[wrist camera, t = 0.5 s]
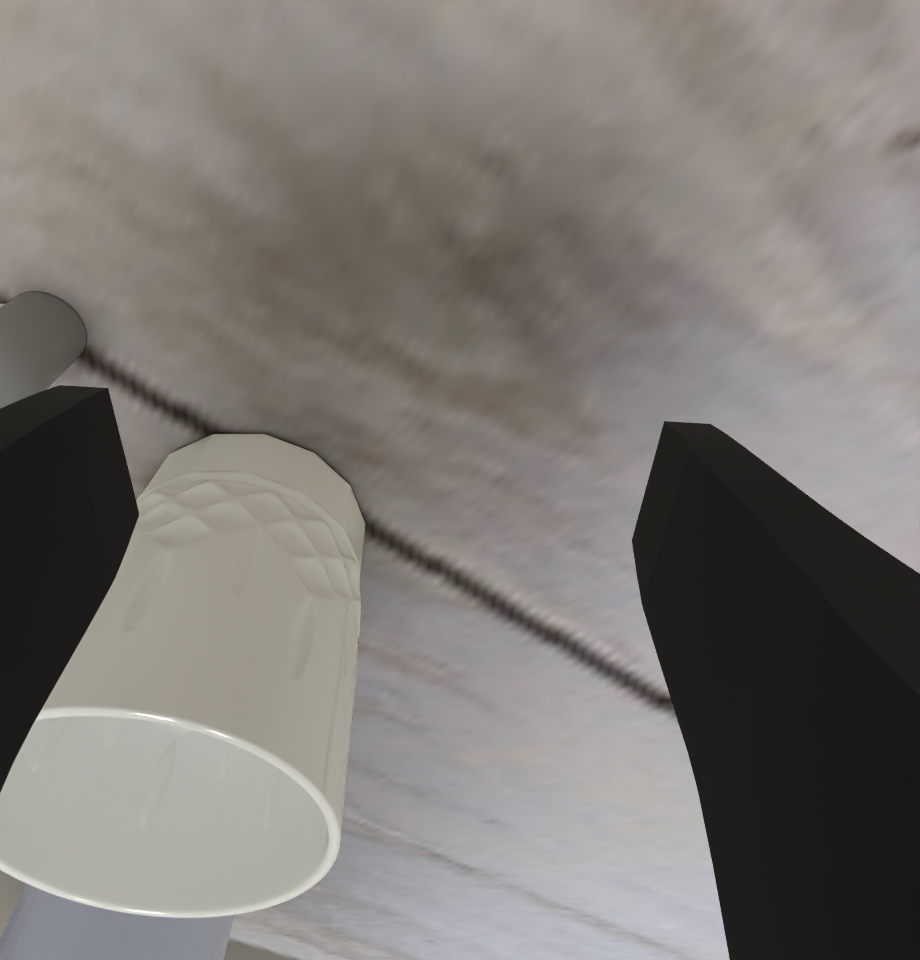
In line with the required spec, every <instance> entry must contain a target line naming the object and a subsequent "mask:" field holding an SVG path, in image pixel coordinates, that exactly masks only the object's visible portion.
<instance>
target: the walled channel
mask: <svg viewBox="0 0 920 960" xmlns="http://www.w3.org/2000/svg"><path fill="white" fill-rule="evenodd" d="M85 346H86V331H85V328H84V325H83V323H82V321H81V319H80V318H79V316H78V315H77V314H76V312H75V311H74V310H73V309H72V308H71V307H70V306H69V305H67V304H66V303H65V302H63V301H62V300H60V299H58V298H56V297H54V296H52V295H49V294H46V293H42V292H25V293H22V294H19V295H17V296H16V297H14V298H13V299H12V300H10V301H9V302H8V303H6V304H0V408H3V407H5V406H7V405H9V404H12V403H14V402H16V401H19V400H21V399H23V398H26V397H28V396H31V395H33V394H36V393H38V392H41V391H44V390H46V389H47V388H48V387H49V386H50V385H51V384H52V383H53V382H54V381H55V380H56V379H57V378H58V377H59V376H60V375H61V374H62V373H63V372H64V371H65V370H66V369H67V368H68V367H69V366H70V365H71V364H72V363H73V362H74V361H75V360H76V359H77V358H78V357H79V356H80V355H81V353H82V352H83V351H84V349H85Z"/></svg>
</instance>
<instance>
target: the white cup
mask: <svg viewBox="0 0 920 960" xmlns="http://www.w3.org/2000/svg"><path fill="white" fill-rule="evenodd" d="M136 503H137V507H138V511H139V517H138V520H137V522H136V525H135V528H134V531H133V534H132V536H131V539H130V542H129V545H128V548H127V550H126V553H125V555H124V558H123V560H122V563H121V565H120V568H119V570H118V573H117V575H116V578H115V580H114V582H113V583H112V585H111V587H110V589H109V591H108V593H107V595H106V596H105V598H104V600H103V602H102V604H101V605H100V607H99V609H98V611H97V613H96V614H95V616H94V618H93V620H92V622H91V623H90V625H89V627H88V629H87V631H86V632H85V634H84V636H83V638H82V639H81V641H80V643H79V645H78V646H77V648H76V650H75V652H74V653H73V655H72V657H71V659H70V660H69V662H68V664H67V666H66V667H65V669H64V671H63V673H62V674H61V676H60V678H59V680H58V681H57V683H56V685H55V687H54V688H53V690H52V692H51V694H50V695H49V697H48V699H47V701H46V702H45V704H44V706H43V708H42V710H41V711H40V713H39V715H38V717H37V718H36V720H35V722H34V724H33V725H32V727H31V729H30V731H29V733H28V735H27V737H26V739H25V741H24V743H23V745H22V747H21V749H20V751H19V753H18V755H17V757H16V759H15V761H14V763H13V765H12V767H11V769H10V772H9V774H8V776H7V779H6V781H5V783H4V786H3V788H2V790H1V792H0V870H1V871H3V872H5V873H6V874H8V875H10V876H12V877H14V878H16V879H18V880H20V881H22V882H24V883H26V884H28V885H31V886H33V887H35V888H38V889H40V890H43V891H45V892H48V893H51V894H53V895H56V896H59V897H62V898H65V899H68V900H71V901H75V902H78V903H82V904H86V905H89V906H93V907H98V908H102V909H107V910H112V911H117V912H123V913H129V914H136V915H144V916H154V917H168V918H208V917H221V916H230V915H237V914H243V913H248V912H253V911H257V910H261V909H265V908H269V907H272V906H275V905H278V904H281V903H283V902H286V901H288V900H290V899H292V898H295V897H297V896H298V895H300V894H302V893H304V892H306V891H307V890H309V889H310V888H312V887H313V886H314V885H316V884H317V883H318V882H319V881H320V880H321V879H322V878H323V877H324V876H325V875H326V874H327V873H328V872H329V870H330V869H331V867H332V866H333V864H334V862H335V860H336V858H337V855H338V852H339V849H340V842H341V832H342V821H343V810H344V799H345V789H346V778H347V768H348V758H349V748H350V738H351V728H352V718H353V708H354V698H355V689H356V678H357V658H358V644H359V632H360V617H361V603H362V601H361V595H360V584H359V583H360V571H361V561H362V552H363V543H364V535H365V522H364V519H363V517H362V514H361V512H360V509H359V506H358V504H357V501H356V499H355V496H354V494H353V491H352V489H351V486H350V485H349V484H348V483H347V482H346V481H345V480H344V479H343V478H342V477H340V476H339V475H338V474H337V473H336V472H335V471H334V470H333V469H332V468H331V467H329V466H328V465H327V464H326V463H325V462H324V461H323V460H322V459H321V458H320V457H318V456H317V455H316V454H315V453H313V452H311V451H308V450H306V449H303V448H301V447H298V446H295V445H293V444H290V443H287V442H285V441H282V440H279V439H277V438H274V437H272V436H269V435H266V434H212V435H209V436H207V437H205V438H203V439H201V440H198V441H196V442H194V443H192V444H190V445H187V446H185V447H183V448H181V449H179V450H176V451H174V452H172V453H170V454H169V455H168V457H167V458H166V459H165V461H164V462H163V464H162V465H161V467H160V468H159V470H158V471H157V472H156V474H155V475H154V477H153V478H152V480H151V481H150V483H149V484H148V486H147V487H146V489H145V490H144V491H143V493H142V494H141V495H140V496H139V498H138V499H137V500H136Z"/></svg>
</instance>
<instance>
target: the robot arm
mask: <svg viewBox="0 0 920 960" xmlns="http://www.w3.org/2000/svg"><path fill="white" fill-rule="evenodd" d="M138 517H139V511H138V507H137V503H136V499H135V495H134V491H133V486H132V482H131V478H130V474H129V470H128V466H127V462H126V458H125V454H124V450H123V446H122V442H121V438H120V434H119V430H118V426H117V422H116V418H115V414H114V410H113V406H112V402H111V398H110V394H109V390H108V388H95V387H78V386H61V385H59V386H56V387H53V388H50V389H47V390H44V391H41V392H38V393H36V394H33V395H31V396H28V397H26V398H23V399H21V400H19V401H16V402H14V403H12V404H9V405H7V406H5V407H3V408H0V792H1V790H2V788H3V786H4V783H5V781H6V779H7V776H8V774H9V772H10V769H11V767H12V765H13V763H14V761H15V759H16V757H17V755H18V753H19V751H20V749H21V747H22V745H23V743H24V741H25V739H26V737H27V735H28V733H29V731H30V729H31V727H32V725H33V724H34V722H35V720H36V718H37V717H38V715H39V713H40V711H41V710H42V708H43V706H44V704H45V702H46V701H47V699H48V697H49V695H50V694H51V692H52V690H53V688H54V687H55V685H56V683H57V681H58V680H59V678H60V676H61V674H62V673H63V671H64V669H65V667H66V666H67V664H68V662H69V660H70V659H71V657H72V655H73V653H74V652H75V650H76V648H77V646H78V645H79V643H80V641H81V639H82V638H83V636H84V634H85V632H86V631H87V629H88V627H89V625H90V623H91V622H92V620H93V618H94V616H95V614H96V613H97V611H98V609H99V607H100V605H101V604H102V602H103V600H104V598H105V596H106V595H107V593H108V591H109V589H110V587H111V585H112V583H113V582H114V580H115V578H116V575H117V573H118V570H119V568H120V565H121V563H122V560H123V558H124V555H125V553H126V550H127V548H128V545H129V542H130V539H131V536H132V534H133V531H134V528H135V525H136V522H137V520H138ZM632 544H633V551H634V558H635V565H636V572H637V578H638V584H639V589H640V595H641V601H642V606H643V609H644V612H645V616H646V619H647V623H648V626H649V629H650V632H651V636H652V639H653V642H654V646H655V649H656V652H657V655H658V659H659V662H660V665H661V668H662V671H663V675H664V678H665V681H666V684H667V687H668V690H669V694H670V697H671V700H672V703H673V706H674V710H675V713H676V716H677V719H678V722H679V726H680V729H681V732H682V735H683V738H684V741H685V745H686V748H687V751H688V754H689V758H690V762H691V766H692V770H693V773H694V777H695V781H696V785H697V789H698V793H699V798H700V803H701V808H702V813H703V818H704V823H705V828H706V833H707V838H708V843H709V848H710V853H711V858H712V863H713V868H714V873H715V879H716V885H717V890H718V896H719V901H720V907H721V912H722V918H723V924H724V929H725V935H726V940H727V946H728V952H729V958H730V960H920V574H919V573H918V572H916V571H915V570H913V569H912V568H910V567H908V566H907V565H906V564H904V563H903V562H901V561H900V560H898V559H897V558H895V557H894V556H892V555H891V554H889V553H888V552H886V551H885V550H883V549H882V548H880V547H879V546H877V545H876V544H874V543H873V542H871V541H870V540H868V539H867V538H865V537H864V536H863V535H861V534H860V533H858V532H857V531H856V530H854V529H853V528H851V527H850V526H849V525H847V524H846V523H844V522H843V521H842V520H840V519H839V518H837V517H836V516H835V515H833V514H832V513H831V512H829V511H828V510H826V509H825V508H824V507H822V506H821V505H820V504H818V503H817V502H816V501H814V500H813V499H812V498H810V497H809V496H808V495H806V494H805V493H804V492H802V491H801V490H800V489H798V488H797V487H796V486H794V485H793V484H792V483H791V482H789V481H788V480H787V479H785V478H784V477H783V476H781V475H780V474H779V473H777V472H776V471H775V470H774V469H772V468H771V467H770V466H768V465H767V464H766V463H764V462H763V461H762V460H761V459H759V458H758V457H757V456H755V455H754V454H753V453H751V452H750V451H749V450H747V449H746V448H745V447H743V446H742V445H741V444H739V443H738V442H737V441H735V440H734V439H732V438H731V437H730V436H728V435H727V434H725V433H724V432H722V431H721V430H719V429H718V428H716V427H714V426H713V425H711V424H700V423H684V422H667V421H664V425H663V428H662V432H661V436H660V439H659V443H658V447H657V450H656V454H655V458H654V461H653V465H652V469H651V472H650V476H649V480H648V483H647V487H646V491H645V494H644V498H643V502H642V505H641V509H640V513H639V516H638V520H637V524H636V527H635V531H634V535H633V538H632ZM233 918H234V915H230V916H221V917H208V918H168V917H154V916H144V915H136V914H129V913H123V912H117V911H112V910H107V909H102V908H98V907H93V906H89V905H86V904H82V903H78V902H75V901H71V900H68V899H65V898H62V897H59V896H56V895H53V894H51V893H48V892H45V891H43V890H40V889H38V888H35V887H33V886H31V885H28V884H26V886H25V888H24V890H23V892H22V894H21V896H20V898H19V900H18V903H17V905H16V907H15V909H14V911H13V913H12V915H11V917H10V919H9V921H8V924H7V926H6V928H5V930H4V932H3V934H2V936H1V939H0V960H223V959H224V956H225V951H226V947H227V943H228V939H229V935H230V931H231V926H232V922H233Z"/></svg>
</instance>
